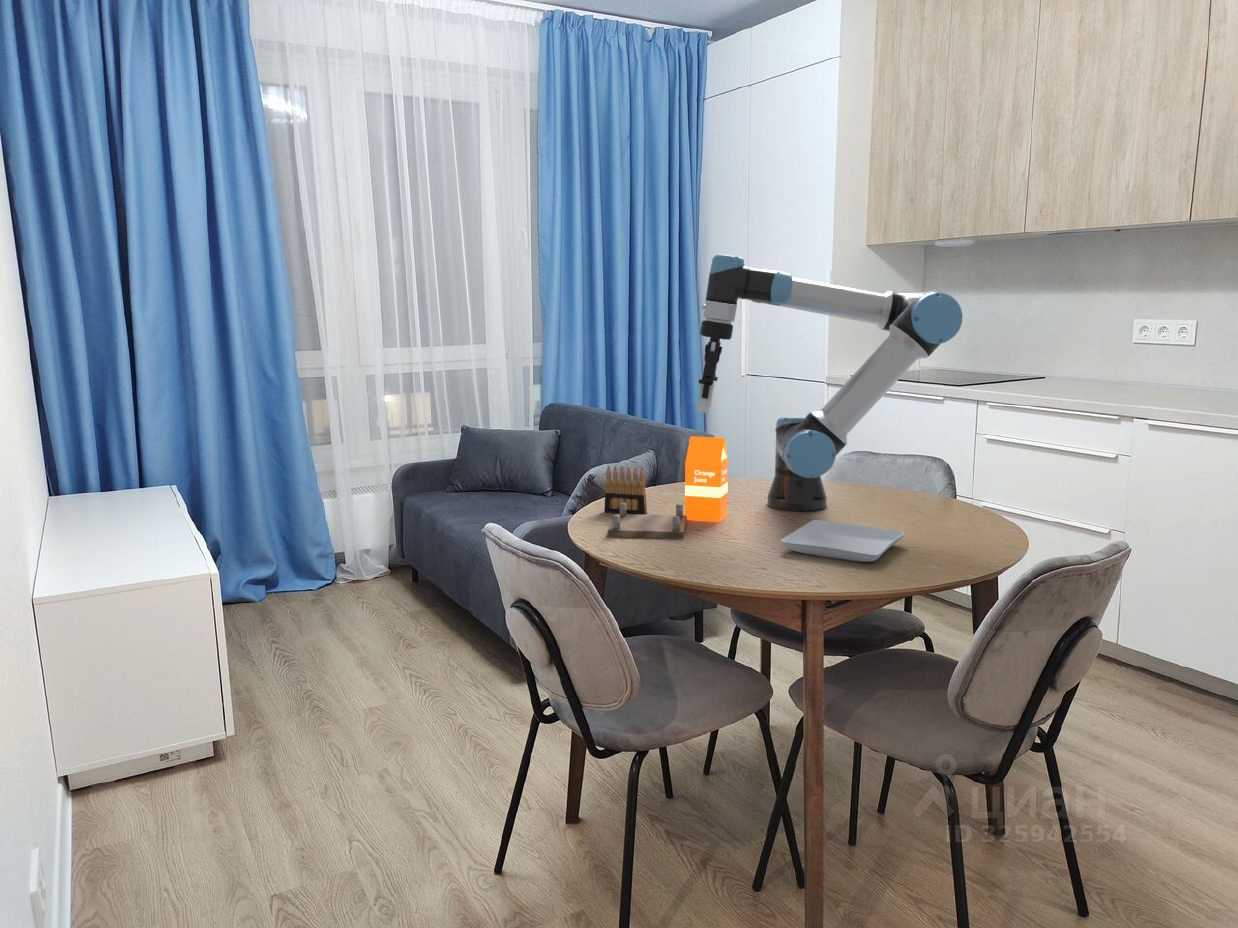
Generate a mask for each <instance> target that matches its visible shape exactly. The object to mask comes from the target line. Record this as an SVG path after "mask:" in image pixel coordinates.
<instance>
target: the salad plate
mask: <svg viewBox="0 0 1238 928" xmlns="http://www.w3.org/2000/svg"><path fill="white" fill-rule="evenodd" d="M905 534H906V533H905V532H904V531H900V530H893V529H886V528H880V527H874V526H873V527H872V526H867V525H861V524H860V525H859V524H854V523H853V524H852V523H847V522H846V523H844V522H835V521H827V520H819V519H813V520H811V521H809V522H807V523H805V524H804V525H802V526H801V527H799V528H798V529H796V530H795V531H793V532H792V533H790V534H788V535H786V536H785V537H783V538H782V539H780V540H779V542H780V544H781V545H782V546H783V547H785V549H788V550H790V551H793V552H795V553H800V554H805V555H811V556H817V557H823V558H824V557H825V558H829V559H830V558H832V559H836V560H838V559H839V560H846V561H851V562H858V563H859V562H860V563H870V562H871V563H872V562H874V561H877V560H879V558H880V557H881V556H882V555H883V554H884V553H885V552H886V551H888V550H889V549H890V548H892V547H893V546H894V545H896V544H897V543H898V542H900V540H902V539H903V538H904V537H905Z"/></svg>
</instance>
